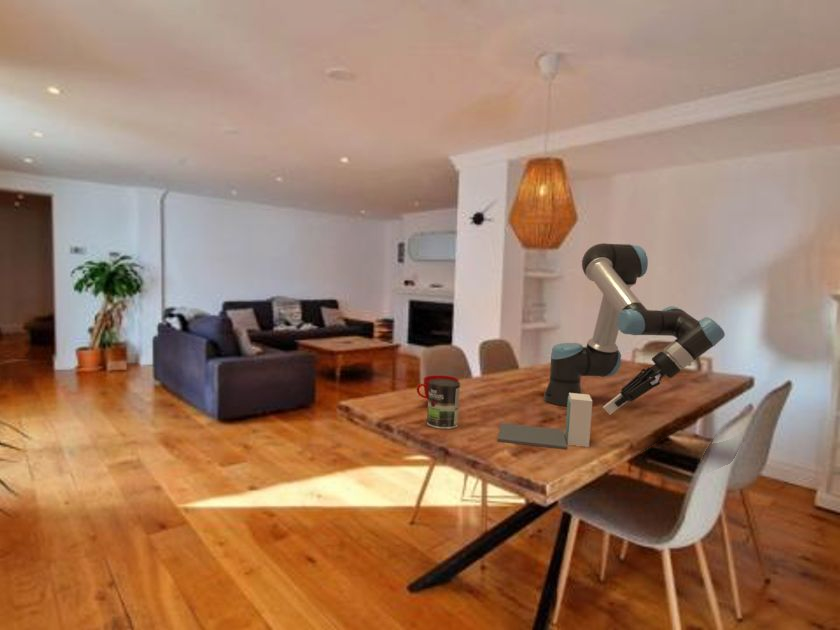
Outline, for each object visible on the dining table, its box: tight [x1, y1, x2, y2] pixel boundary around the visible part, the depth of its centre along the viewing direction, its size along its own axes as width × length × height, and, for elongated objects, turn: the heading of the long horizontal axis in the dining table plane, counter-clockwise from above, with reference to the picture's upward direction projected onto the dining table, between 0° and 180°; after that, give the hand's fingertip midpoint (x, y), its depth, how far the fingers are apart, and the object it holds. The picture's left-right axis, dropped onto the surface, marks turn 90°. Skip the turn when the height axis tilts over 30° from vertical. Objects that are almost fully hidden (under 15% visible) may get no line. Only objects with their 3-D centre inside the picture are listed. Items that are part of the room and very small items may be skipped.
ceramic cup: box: [416, 375, 460, 401], centre depth 180 cm, size 13×17×10 cm
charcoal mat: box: [497, 422, 568, 450], centre depth 151 cm, size 20×16×1 cm
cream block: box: [564, 393, 593, 448], centre depth 147 cm, size 6×8×14 cm
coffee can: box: [426, 379, 461, 430], centre depth 159 cm, size 10×10×14 cm
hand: (606, 410), depth 145 cm, fingers closed
